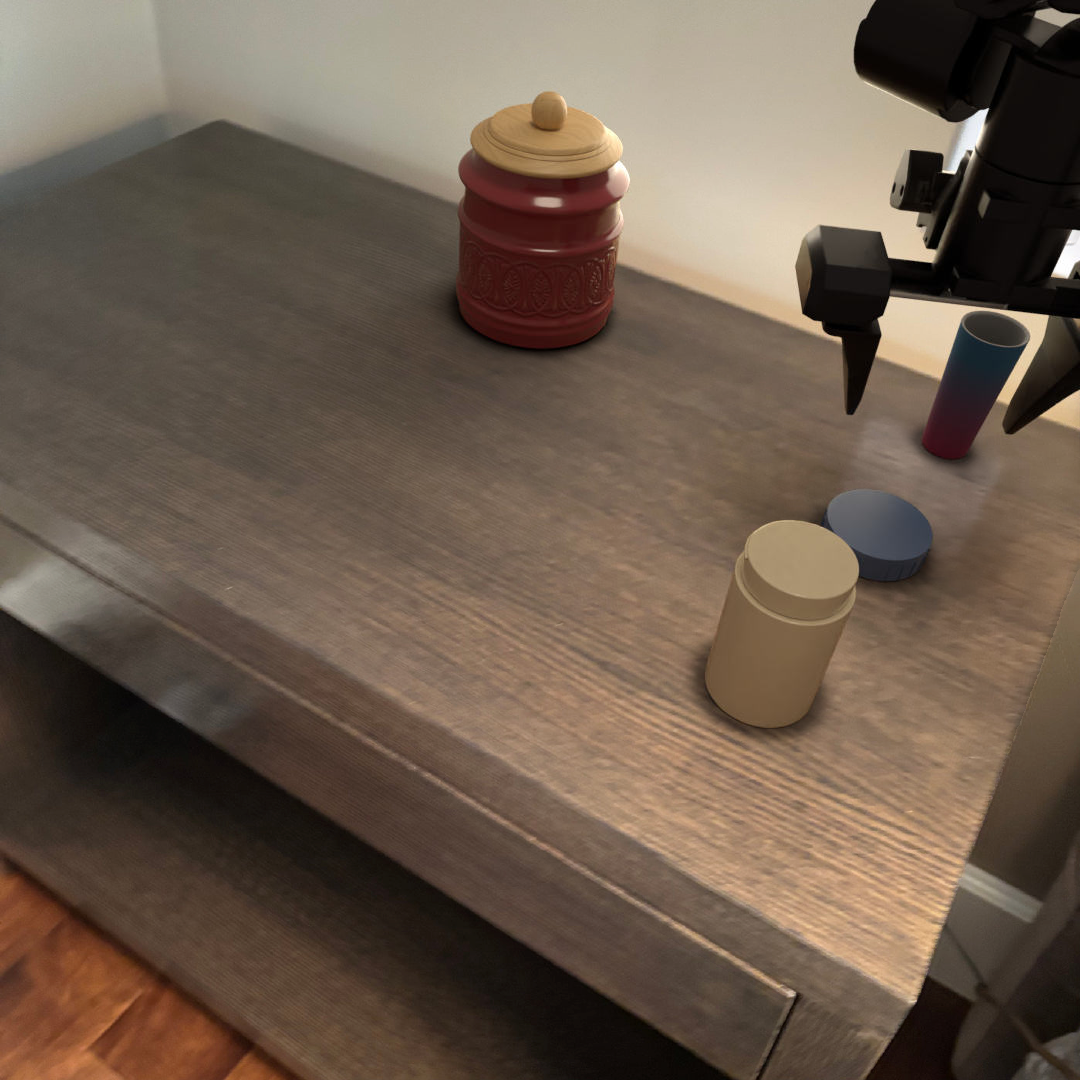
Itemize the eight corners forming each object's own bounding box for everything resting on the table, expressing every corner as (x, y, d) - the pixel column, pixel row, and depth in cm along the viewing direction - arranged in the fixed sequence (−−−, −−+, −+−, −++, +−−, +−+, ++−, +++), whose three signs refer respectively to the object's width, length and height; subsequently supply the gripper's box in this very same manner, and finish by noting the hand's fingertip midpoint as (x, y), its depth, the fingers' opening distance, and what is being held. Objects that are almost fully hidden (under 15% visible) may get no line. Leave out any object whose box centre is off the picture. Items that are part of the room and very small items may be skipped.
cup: (921, 418, 78) (968, 303, 71) (980, 439, 77) (1035, 323, 70) (906, 450, 75) (955, 332, 68) (969, 472, 74) (1024, 354, 67)
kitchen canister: (640, 333, 84) (676, 116, 72) (499, 367, 79) (511, 141, 67) (563, 259, 92) (583, 52, 80) (430, 286, 87) (430, 70, 75)
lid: (844, 495, 71) (851, 474, 69) (939, 540, 68) (949, 519, 67) (801, 548, 66) (808, 527, 65) (900, 598, 64) (910, 577, 63)
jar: (808, 649, 60) (857, 523, 53) (818, 735, 56) (873, 610, 49) (703, 635, 60) (739, 508, 53) (704, 720, 56) (743, 594, 49)
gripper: (1175, 116, 55) (1052, 363, 65) (824, 77, 55) (760, 328, 66) (1259, 210, 46) (1103, 473, 57) (847, 163, 47) (770, 433, 58)
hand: (927, 420), depth 60 cm, fingers open, 9 cm apart
